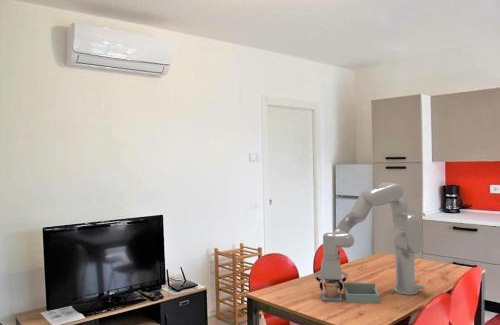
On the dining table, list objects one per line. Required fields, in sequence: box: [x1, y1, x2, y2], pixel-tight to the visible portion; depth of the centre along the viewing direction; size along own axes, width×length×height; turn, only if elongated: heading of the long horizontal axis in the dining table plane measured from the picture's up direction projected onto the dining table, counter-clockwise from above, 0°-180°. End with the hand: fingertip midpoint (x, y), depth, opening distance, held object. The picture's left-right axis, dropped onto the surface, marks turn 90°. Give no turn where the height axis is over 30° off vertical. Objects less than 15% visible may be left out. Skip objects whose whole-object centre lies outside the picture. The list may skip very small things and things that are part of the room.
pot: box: [323, 280, 338, 298], centre depth 211 cm, size 7×7×7 cm
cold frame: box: [343, 282, 381, 304], centre depth 209 cm, size 16×13×6 cm
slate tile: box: [320, 291, 343, 303], centre depth 211 cm, size 10×12×1 cm
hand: (331, 290), depth 211 cm, fingers open, 9 cm apart
